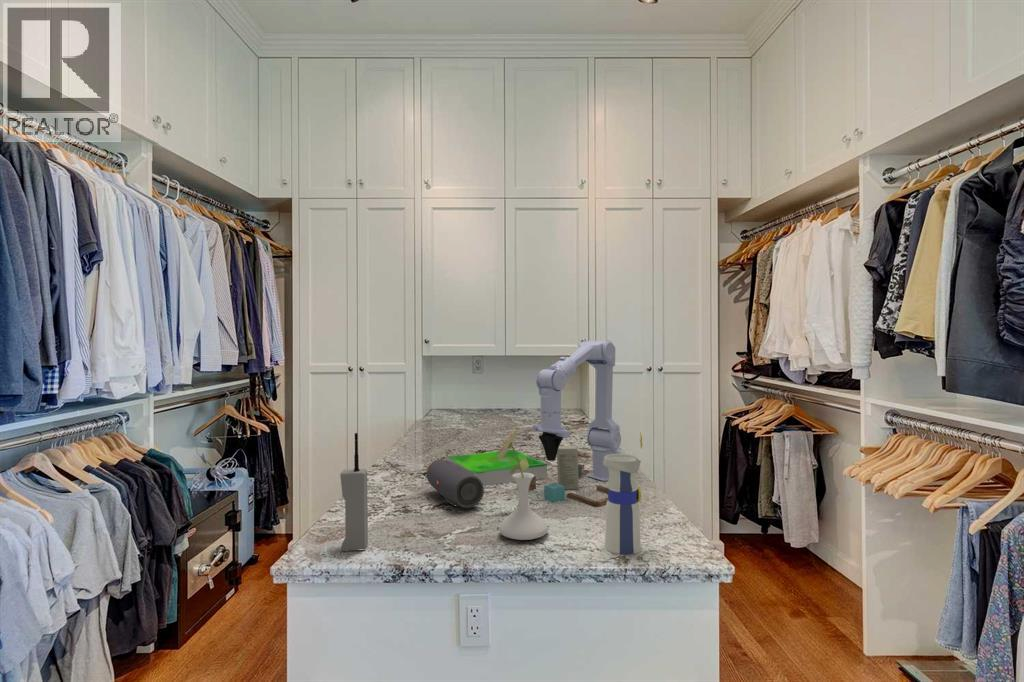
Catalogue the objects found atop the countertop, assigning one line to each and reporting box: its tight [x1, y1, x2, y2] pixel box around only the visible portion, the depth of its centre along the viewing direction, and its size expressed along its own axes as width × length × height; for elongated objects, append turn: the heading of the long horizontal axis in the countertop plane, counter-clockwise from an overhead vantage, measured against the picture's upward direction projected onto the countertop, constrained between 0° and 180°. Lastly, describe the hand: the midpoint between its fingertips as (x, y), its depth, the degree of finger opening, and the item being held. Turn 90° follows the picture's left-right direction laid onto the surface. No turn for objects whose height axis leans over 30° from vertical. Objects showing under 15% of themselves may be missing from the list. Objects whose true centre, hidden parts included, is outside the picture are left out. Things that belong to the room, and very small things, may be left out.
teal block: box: [543, 482, 566, 504], centre depth 154 cm, size 4×4×4 cm
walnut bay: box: [566, 485, 608, 508], centre depth 155 cm, size 13×12×1 cm
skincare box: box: [556, 445, 580, 490], centre depth 166 cm, size 6×4×12 cm
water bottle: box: [603, 432, 643, 555], centre depth 119 cm, size 8×9×25 cm
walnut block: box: [529, 476, 537, 491], centre depth 164 cm, size 4×4×4 cm
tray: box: [447, 449, 548, 487], centre depth 183 cm, size 25×25×5 cm
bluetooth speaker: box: [426, 458, 485, 508], centre depth 153 cm, size 23×9×10 cm, turn 27°
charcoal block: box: [578, 463, 583, 478], centre depth 179 cm, size 4×4×4 cm
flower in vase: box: [497, 428, 549, 541], centre depth 126 cm, size 13×11×25 cm
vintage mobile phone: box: [339, 432, 369, 551], centre depth 120 cm, size 4×5×25 cm
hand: (551, 460), depth 156 cm, fingers closed
